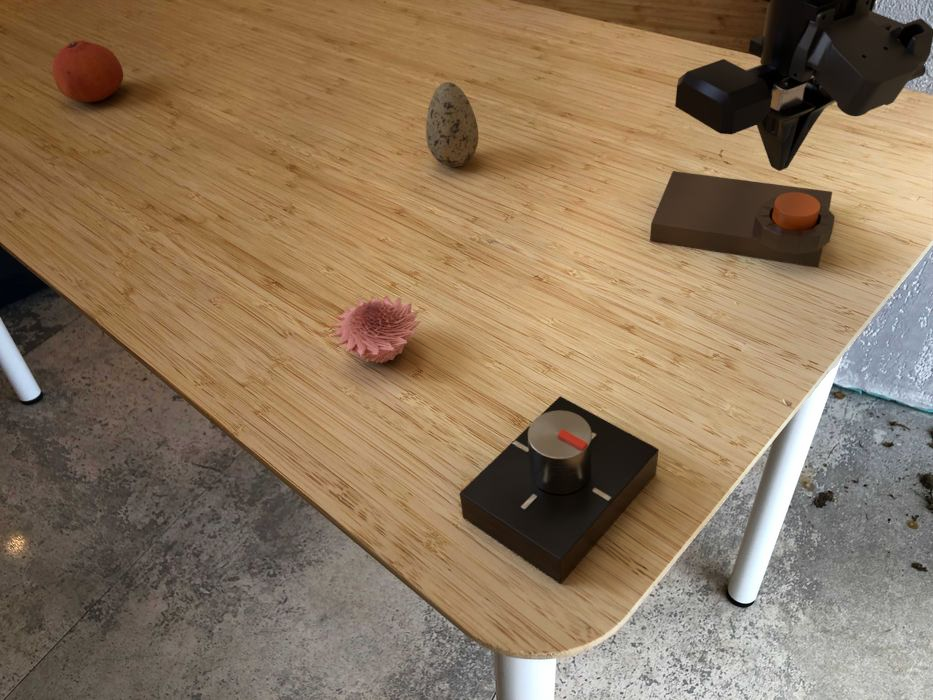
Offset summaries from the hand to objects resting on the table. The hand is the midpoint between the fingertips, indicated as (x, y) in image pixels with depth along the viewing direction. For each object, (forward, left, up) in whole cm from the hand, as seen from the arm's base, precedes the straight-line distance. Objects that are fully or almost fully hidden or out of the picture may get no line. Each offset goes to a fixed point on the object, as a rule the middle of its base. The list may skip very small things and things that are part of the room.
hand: (778, 167), depth 70 cm
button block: (+3, -10, -13) cm, 17 cm away
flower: (+30, +18, -13) cm, 37 cm away
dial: (+10, +28, -10) cm, 31 cm away
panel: (+10, +28, -13) cm, 32 cm away
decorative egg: (+36, -14, -13) cm, 41 cm away
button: (-2, -7, -9) cm, 12 cm away
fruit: (+93, -18, -13) cm, 96 cm away
